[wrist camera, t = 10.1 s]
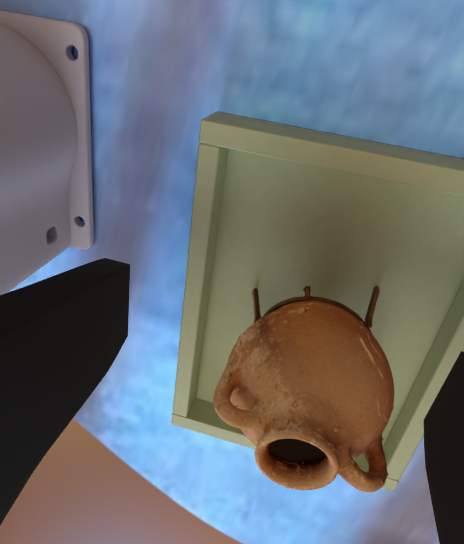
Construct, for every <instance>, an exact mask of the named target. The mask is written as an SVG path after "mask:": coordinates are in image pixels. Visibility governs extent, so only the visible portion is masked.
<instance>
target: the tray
mask: <svg viewBox="0 0 464 544" xmlns="http://www.w3.org/2000/svg"><path fill="white" fill-rule="evenodd" d="M199 142H200V144H199V149H198V160H197V170H196V180H195V190H194V200H193V211H192V221H191V231H190V241H189V251H188V262H187V272H186V282H185V292H184V302H183V313H182V323H181V333H180V343H179V353H178V364H177V374H176V384H175V394H174V404H173V413H172V424H173V425H177V426H180V427H183V428H186V429H190V430H193V431H196V432H200V433H203V434H206V435H210V436H213V437H216V438H220V439H223V440H226V441H229V442H233V443H236V444H239V445H243V446H246V447H249V448H253V449H255V448H256V446H255V445H254V444H253V443H252V442H251V441H250V440H249V439H248V438H247V437H246V435H245V434H244V433H243V432H242V430H241V429H240V428H236V427H232V426H230V425H228V424H226V423H225V422H224V421H223V420H222V419H221V418H220V417H219V416H218V414H217V413H216V411H215V409H214V405H213V397H214V393H215V389H216V387H217V384H218V382H219V380H220V378H221V376H222V373H223V371H224V368H225V367H226V365H227V362H226V361H227V360H228V358H229V355H230V353H231V351H232V349H233V347H234V345H235V344H236V342H237V339H238V337H239V335H241V334H242V333H244V332H245V331H246V330H247V328H248V327H250V326H251V325H252V324H254V319H255V316H254V315H255V314H254V303H253V296H252V291H253V289H254V288H257V289H258V296H259V304H260V314H261V318H262V317H263V316H264V314H265V313H266V312H267V310H269V309H270V308H271V307H272V306H274V305H275V304H277V303H279V302H281V301H284V300H287V299H289V298H293V297H303V296H305V292H304V290H303V289H304V288H305V286H308V287H309V286H310V289H311V292H310V296H313V297H322V298H327V299H330V300H333V301H337V302H339V303H341V304H343V305H345V306H347V307H349V308H350V309H351V310H353V311H354V312H355V313H357V314H358V315H359V316H360V317H361V318H362V319H363V321H365V317H366V314H367V310H368V306H369V303H370V300H371V296H372V293H373V288H374V287H375V286H378V287H379V290H380V292H379V296H378V298H377V299H378V300H377V302H376V306H375V311H374V315H373V319H372V327H371V328H370V330H371V332H372V334H373V336H374V337H375V339H376V340H377V342H378V343H379V344H380V346H381V348H382V349H383V351H384V353H385V355H386V357H387V360H388V362H389V365H390V369H391V372H392V376H393V381H394V403H393V405H394V408H395V409H393V410H392V413H391V416H390V419H389V421H388V424H387V426H386V427H385V429H384V431H383V433H382V438H383V439H384V440H383V441H382V444H383V450H384V454H385V459H386V465H387V472H388V476H387V478H386V482H385V484H384V486H382V488H385V489H388V490H391V491H394V490H395V488H396V486H397V484H398V482H399V480H400V478H401V476H402V474H403V472H404V470H405V468H406V467H407V465H408V463H409V461H410V459H411V457H412V456H413V454H414V452H415V450H416V448H417V446H418V444H419V443H420V441H421V439H422V437H423V435H424V418H425V416H426V415H427V413H428V411H429V409H430V407H431V405H432V404H433V402H434V400H435V398H436V396H437V394H438V393H439V391H440V389H441V387H442V385H443V383H444V382H445V380H446V378H447V376H448V374H449V372H450V371H451V369H452V367H453V365H454V363H455V361H456V360H457V358H458V356H459V354H460V352H461V351H463V352H464V159H461V158H456V157H451V156H446V155H440V154H435V153H430V152H425V151H419V150H414V149H409V148H404V147H399V146H393V145H388V144H383V143H378V142H373V141H367V140H362V139H357V138H352V137H347V136H341V135H336V134H331V133H326V132H321V131H315V130H310V129H305V128H300V127H295V126H289V125H284V124H279V123H274V122H269V121H263V120H258V119H253V118H248V117H243V116H237V115H232V114H227V113H222V112H215V113H213V114H211V115H209V116H208V117H206V118H204V119H202V120H201V126H200V136H199ZM353 460H354V461H355V462H356V463H357V464H358V466H359V468H360V469H362V470H363V471H365V472H367V471H368V470H369V465H368V462H367V459H366V457H365V456H364V455H363V454H360V455H359V457H357V458H356V457H353ZM338 475H340V474H339V473H338Z"/></svg>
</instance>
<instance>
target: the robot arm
mask: <svg viewBox="0 0 464 544" xmlns="http://www.w3.org/2000/svg"><path fill="white" fill-rule="evenodd" d="M73 46H75V47H76V49H77V50H78V58H77V59H75V58H74V57H73V56H72V52H71V50H72V47H73ZM79 216H80V217H82V218H83V219H84V222H85V224H84V223H82V222H81V221H80V220H79ZM93 241H94V231H93V194H92V156H91V119H90V81H89V44H88V35H87V33H86V31H85V29H84V28H83V27H82V26H81V25H79V24H77V23H73V22H67V21H61V20H55V19H50V18H44V17H38V16H32V15H26V14H20V13H14V12H8V11H3V10H0V525H1V523H2V522H3V520H4V518H5V516H6V515H7V513H8V512H9V510H10V508H11V507H12V505H13V504H14V502H15V500H16V499H17V497H18V496H19V494H20V492H21V491H22V489H23V487H24V486H25V484H26V483H27V481H28V479H29V478H30V476H31V474H32V473H33V471H34V470H35V468H36V467H37V466H38V464H39V463H40V461H41V460H42V458H43V457H44V456H45V454H46V453H47V451H48V450H49V449H50V447H51V446H52V445H53V443H54V442H55V441H56V439H57V438H58V437H59V436H60V434H61V433H62V432H63V430H64V429H65V428H66V426H67V425H68V424H69V422H70V421H71V420H72V418H73V417H74V416H75V415H76V413H77V412H78V411H79V409H80V408H81V407H82V405H83V404H84V403H85V401H86V400H87V399H88V397H89V396H90V395H91V393H92V392H93V391H94V389H95V388H96V387H97V385H98V384H99V383H100V381H101V380H102V379H103V377H104V376H105V375H106V373H107V372H108V370H109V368H110V367H111V365H112V363H113V362H114V360H115V358H116V356H117V355H118V353H119V351H120V349H121V347H122V345H123V344H124V342H125V340H126V338H127V336H128V311H129V281H130V264H126V263H122V262H118V261H115V260H111V259H107V258H104V259H100V260H97V261H93V262H90V263H88V264H85V265H82V266H79V267H76V268H74V269H71V270H68V271H66V272H63V273H61V274H58V275H55V276H53V277H50V278H47V279H44V280H42V281H39V282H36V283H34V284H31V285H28V286H26V287H23V288H20V289H17V290H14V291H11V292H9V291H10V290H11V289H13V288H14V287H16V286H17V285H18V284H20V283H21V282H22V281H24V280H25V279H26V278H28V277H29V276H30V275H32V274H33V273H35V272H36V271H37V270H39V269H40V268H41V267H43V266H44V265H45V264H47V263H48V262H49V261H51V260H52V259H54V258H55V257H56V256H58V255H59V254H60V253H62V252H63V251H64V250H66V249H67V248H68V247H73V248H77V249H81V250H86V249H88V248H89V247H91V246H92V244H93ZM7 292H8V293H7ZM424 449H425V465H426V472H427V478H428V483H429V489H430V494H431V500H432V505H433V511H434V516H435V521H436V526H437V532H438V537H439V542H440V544H464V352H463V351H461V352H460V354H459V356H458V358H457V360H456V361H455V363H454V365H453V367H452V369H451V371H450V372H449V374H448V376H447V378H446V380H445V382H444V383H443V385H442V387H441V389H440V391H439V393H438V394H437V396H436V398H435V400H434V402H433V404H432V405H431V407H430V409H429V411H428V413H427V415H426V416H425V418H424Z"/></svg>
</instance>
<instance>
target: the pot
mask: <svg viewBox="0 0 464 544" xmlns="http://www.w3.org/2000/svg"><path fill="white" fill-rule="evenodd" d="M303 290H304V292H305V296H303V297H293V298H289V299H287V300H284V301H281V302H279V303H277V304H275V305H274V306H272V307H271V308H270V309H269V310H267V312H266V313H265V314H264V316H263V317H262V318H261V314H260V304H259V296H258V289H257V288H254V289H253V291H252V296H253V303H254V314H255V315H254V316H255V319H254V324H252V325H251V326H250V327H248V328H247V330H246V331H245V332H244V333H242V334H241V335H239V337H238V339H237V342H236V344H235V345H234V347H233V349H232V351H231V353H230V355H229V358H228V360H227V361H226V362H227V365H226V367H225V368H224V371H223V373H222V376H221V378H220V380H219V382H218V384H217V387H216V389H215V393H214V397H213V405H214V409H215V411H216V413H217V414H218V416H219V417H220V418H221V419H222V420H223V421H224V422H225V423H226V424H228V425H230V426H232V427H236V428H240V429H241V430H242V432H243V433H244V434H245V435H246V437H247V438H248V439H249V440H250V441H251V442H252V443H253V444H254V445H255V446H256V448H255V454H254V455H255V459H256V462H257V465H258V467H259V468H260V470H261V471H262V473H263V474H265V475H266V476H267V477H268V478H269V479H271V480H272V481H274V482H276V483H278V484H280V485H282V486H285V487H286V488H292V489H297V490H312V489H317V488H322V487H324V486H326V485H328V484H329V483H331V482H332V481H333V480H334V479H335V478H336V476H337V474H338V473H339V474H340V475H341V476H342V477H343V478H344V479H345V480H346V481H347V482H348V483H349V484H351V485H352V486H354V487H355V488H356V489H358V490H361V491H365V492H374V491H376V490H378V489H380V488H382V486H384V484H385V482H386V478H387V476H388V472H387V465H386V459H385V454H384V450H383V444H382V441H383V440H384V439H383V438H382V433H383V431H384V429H385V427H386V426H387V424H388V421H389V419H390V416H391V413H392V410H393V409H395V408H394V405H393V403H394V381H393V376H392V372H391V369H390V365H389V362H388V360H387V357H386V355H385V353H384V351H383V349H382V348H381V346H380V344H379V343H378V342H377V340H376V339H375V337H374V336H373V334H372V332H371V330H370V328H371V327H372V319H373V315H374V311H375V306H376V302H377V300H378V299H377V298H378V296H379V292H380V290H379V287H378V286H375V287H374V288H373V293H372V296H371V300H370V303H369V306H368V310H367V314H366V317H365V321H363V319H362V318H361V317H360V316H359V315H358V314H357V313H355V312H354V311H353V310H351V309H350V308H349V307H347V306H345V305H343V304H341V303H339V302H337V301H333V300H330V299H327V298H322V297H313V296H310V292H311V289H310V286H309V287H308V286H305V288H304V289H303ZM360 454H363V455H364V456H365V457H366V459H367V462H368V465H369V470H368V471H367V472H365V471H363V470H362V469H360V468H359V466H358V464H357V463H356V462H355V461H354V460H353V457H356V458H357V457H359V455H360Z"/></svg>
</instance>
